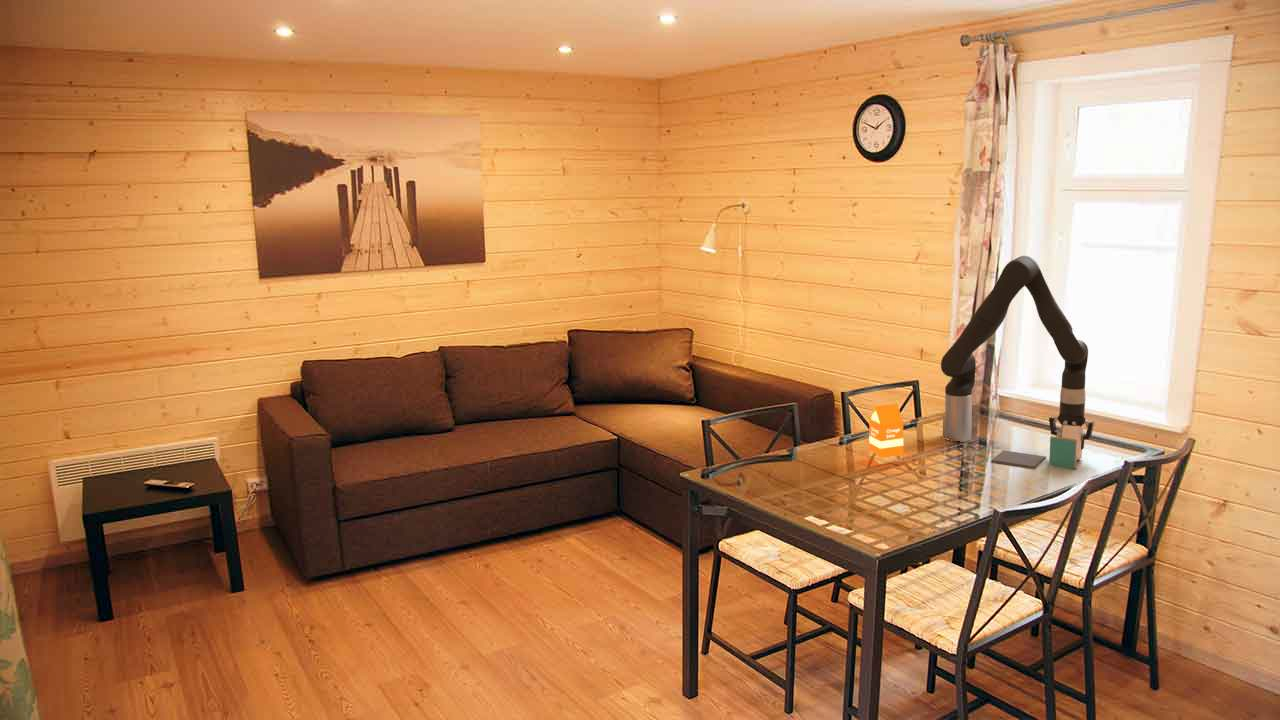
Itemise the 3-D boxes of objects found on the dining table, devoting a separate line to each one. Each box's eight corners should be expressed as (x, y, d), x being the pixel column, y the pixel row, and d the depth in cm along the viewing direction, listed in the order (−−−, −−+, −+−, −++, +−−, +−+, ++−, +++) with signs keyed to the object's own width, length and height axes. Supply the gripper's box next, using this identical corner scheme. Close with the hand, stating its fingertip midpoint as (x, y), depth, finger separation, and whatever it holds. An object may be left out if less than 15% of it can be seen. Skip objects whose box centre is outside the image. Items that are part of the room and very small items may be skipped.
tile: (1049, 465, 299) (1050, 436, 297) (1050, 464, 300) (1051, 436, 298) (1075, 469, 294) (1076, 440, 292) (1076, 468, 295) (1077, 439, 293)
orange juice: (903, 462, 311) (903, 406, 307) (880, 465, 309) (880, 409, 305) (891, 455, 319) (891, 400, 314) (869, 458, 317) (868, 403, 312)
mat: (991, 462, 306) (991, 459, 306) (1003, 452, 315) (1003, 450, 314) (1034, 468, 297) (1034, 466, 297) (1045, 458, 306) (1045, 456, 306)
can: (1077, 454, 306) (1079, 420, 304) (1084, 460, 300) (1087, 425, 298) (1057, 454, 307) (1059, 420, 304) (1064, 460, 301) (1066, 426, 298)
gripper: (1046, 400, 301) (1044, 448, 305) (1093, 405, 292) (1090, 455, 296) (1052, 395, 307) (1050, 442, 310) (1099, 400, 298) (1096, 449, 301)
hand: (1070, 448), depth 303 cm, fingers closed on can, 5 cm apart
